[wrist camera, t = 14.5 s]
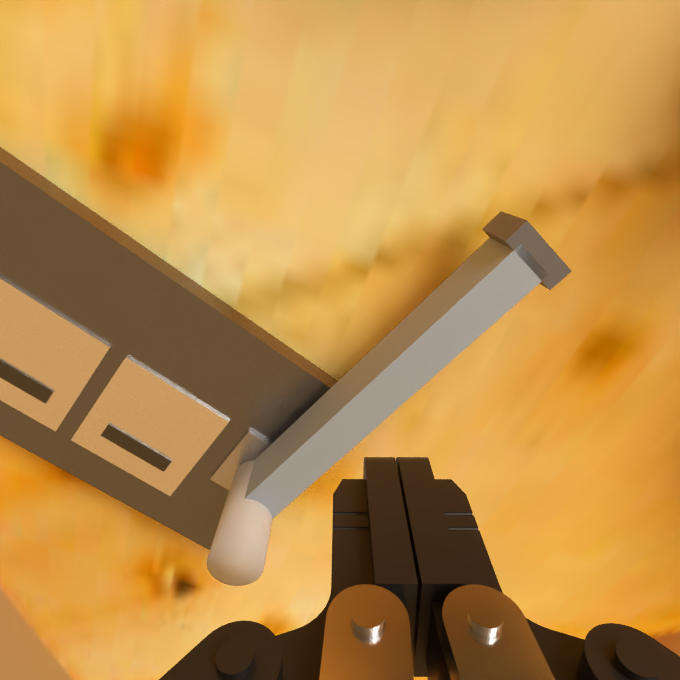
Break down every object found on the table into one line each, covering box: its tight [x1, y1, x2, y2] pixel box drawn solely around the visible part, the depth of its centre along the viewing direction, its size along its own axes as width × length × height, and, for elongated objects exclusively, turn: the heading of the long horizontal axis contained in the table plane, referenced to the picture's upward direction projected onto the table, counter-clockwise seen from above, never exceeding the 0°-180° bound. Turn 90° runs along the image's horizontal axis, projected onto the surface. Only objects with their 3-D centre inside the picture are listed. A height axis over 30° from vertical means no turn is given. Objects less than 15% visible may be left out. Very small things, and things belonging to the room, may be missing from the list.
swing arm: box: [207, 212, 571, 586], centre depth 24 cm, size 22×3×7 cm, turn 136°
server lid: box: [0, 147, 338, 550], centre depth 28 cm, size 24×15×2 cm, turn 52°
